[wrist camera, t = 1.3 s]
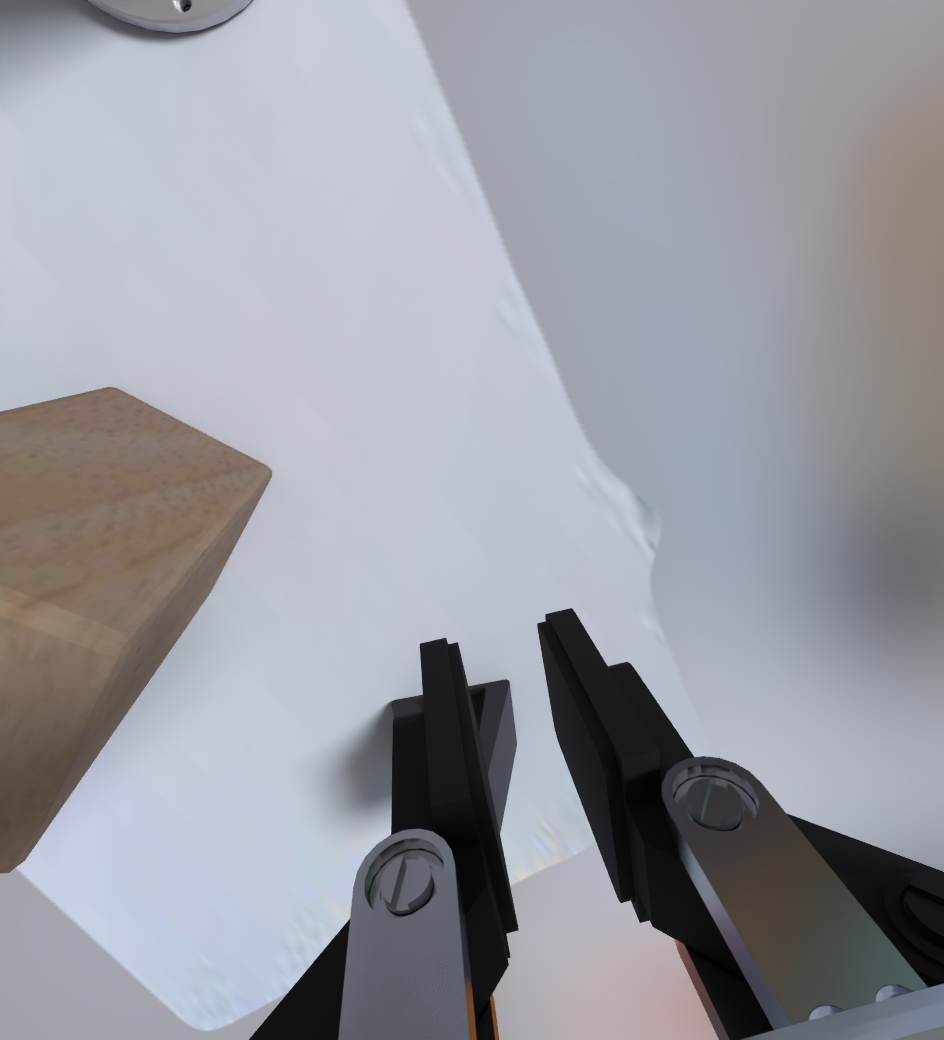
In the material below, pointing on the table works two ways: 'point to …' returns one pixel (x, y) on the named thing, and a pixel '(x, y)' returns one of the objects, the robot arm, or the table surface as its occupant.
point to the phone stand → (486, 733)
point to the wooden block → (98, 579)
